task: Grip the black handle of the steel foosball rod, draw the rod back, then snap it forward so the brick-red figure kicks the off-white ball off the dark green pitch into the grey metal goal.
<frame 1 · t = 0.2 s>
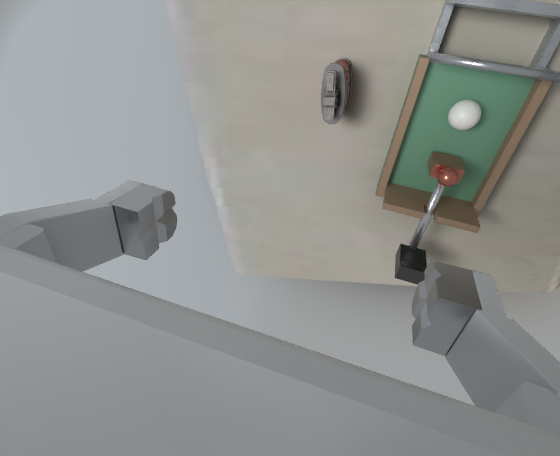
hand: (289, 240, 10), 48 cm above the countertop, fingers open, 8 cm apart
rod: (427, 217, 49), point 8 cm above the countertop, slide at 0.0 cm
ball: (464, 115, 45), point 4 cm above the countertop, touching pitch
goal: (491, 34, 42), on the countertop
pitch: (447, 138, 50), on the countertop
lighter: (341, 86, 52), on the countertop
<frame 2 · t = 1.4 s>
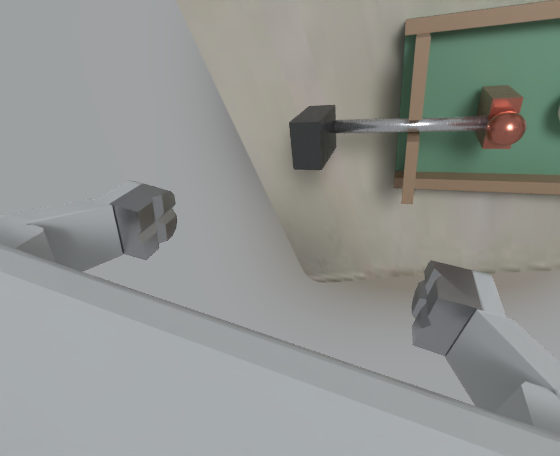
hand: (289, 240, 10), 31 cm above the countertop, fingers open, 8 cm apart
rod: (403, 126, 28), point 9 cm above the countertop, slide at 0.0 cm
pitch: (514, 100, 32), on the countertop
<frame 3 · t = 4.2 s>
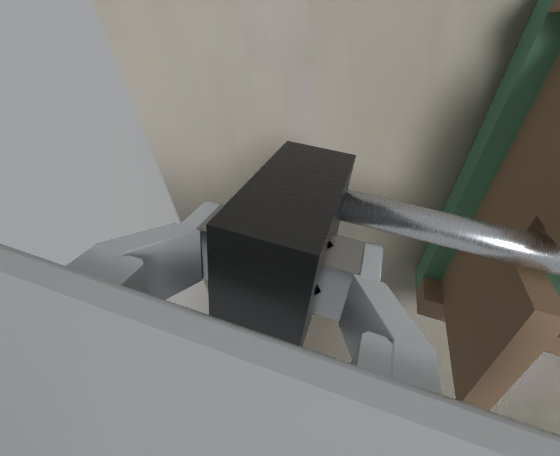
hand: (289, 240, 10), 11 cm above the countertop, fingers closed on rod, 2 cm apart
rod: (524, 256, 11), point 8 cm above the countertop, slide at 0.0 cm, touching gripper
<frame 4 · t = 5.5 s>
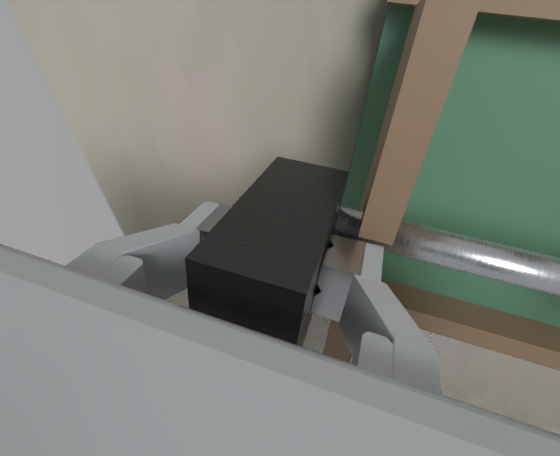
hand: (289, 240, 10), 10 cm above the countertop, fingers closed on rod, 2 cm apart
rod: (525, 277, 10), point 9 cm above the countertop, slide at -5.7 cm, touching gripper
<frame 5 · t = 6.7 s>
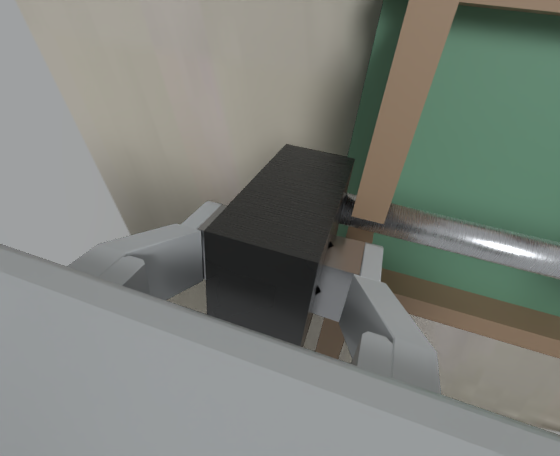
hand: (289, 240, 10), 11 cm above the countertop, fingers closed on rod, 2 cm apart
rod: (524, 260, 11), point 9 cm above the countertop, slide at -6.1 cm, touching gripper
pitch: (554, 182, 17), on the countertop
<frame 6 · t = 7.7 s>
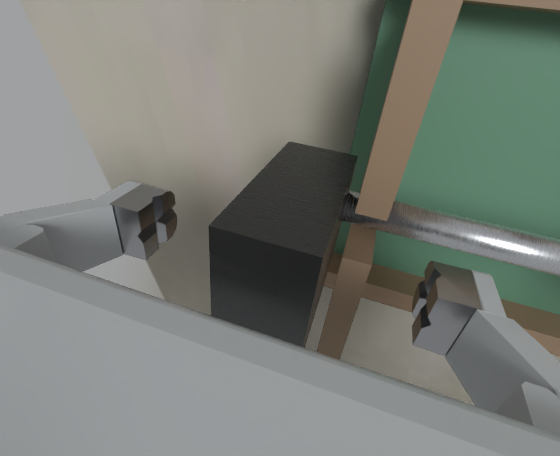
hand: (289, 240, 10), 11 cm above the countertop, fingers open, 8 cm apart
rod: (527, 257, 11), point 9 cm above the countertop, slide at -6.1 cm
pitch: (556, 180, 17), on the countertop
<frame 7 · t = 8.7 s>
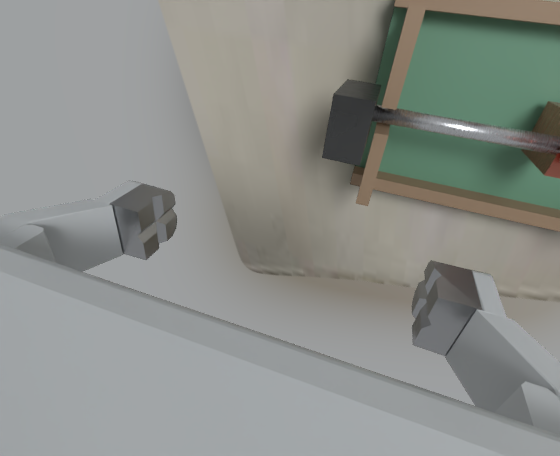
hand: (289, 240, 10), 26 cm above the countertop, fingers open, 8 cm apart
rod: (460, 130, 23), point 9 cm above the countertop, slide at -6.1 cm
pitch: (491, 112, 29), on the countertop
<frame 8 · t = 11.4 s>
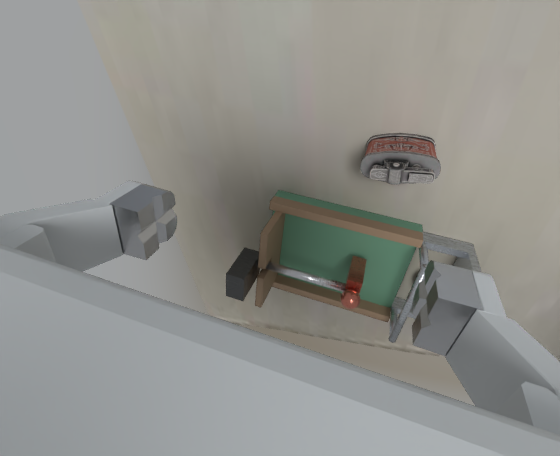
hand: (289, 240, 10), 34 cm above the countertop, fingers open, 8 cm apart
rod: (299, 277, 45), point 8 cm above the countertop, slide at -6.1 cm
goal: (427, 274, 49), on the countertop
pitch: (336, 249, 51), on the countertop
lighter: (400, 146, 40), on the countertop
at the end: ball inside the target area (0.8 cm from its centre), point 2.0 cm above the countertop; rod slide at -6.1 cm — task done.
